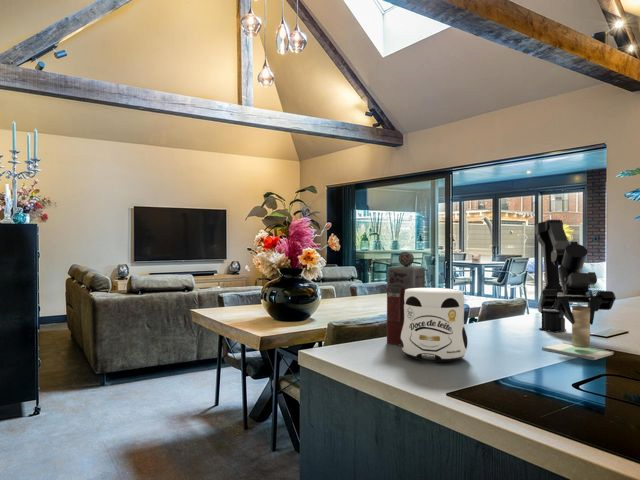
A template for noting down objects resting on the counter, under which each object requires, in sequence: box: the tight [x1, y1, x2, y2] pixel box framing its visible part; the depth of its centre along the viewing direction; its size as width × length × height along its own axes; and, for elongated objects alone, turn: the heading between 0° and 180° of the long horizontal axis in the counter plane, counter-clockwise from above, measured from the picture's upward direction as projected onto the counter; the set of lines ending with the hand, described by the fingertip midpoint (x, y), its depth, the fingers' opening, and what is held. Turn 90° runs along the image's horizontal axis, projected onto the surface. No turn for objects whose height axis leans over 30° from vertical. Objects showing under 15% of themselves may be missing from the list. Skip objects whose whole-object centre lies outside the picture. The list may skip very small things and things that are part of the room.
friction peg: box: [571, 305, 591, 348], centre depth 128 cm, size 4×4×11 cm
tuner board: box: [541, 341, 615, 361], centre depth 129 cm, size 14×12×1 cm
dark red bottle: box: [386, 251, 426, 346], centre depth 140 cm, size 9×11×28 cm
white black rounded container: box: [400, 287, 468, 363], centre depth 122 cm, size 17×17×18 cm
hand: (582, 323), depth 127 cm, fingers closed on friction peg, 4 cm apart
